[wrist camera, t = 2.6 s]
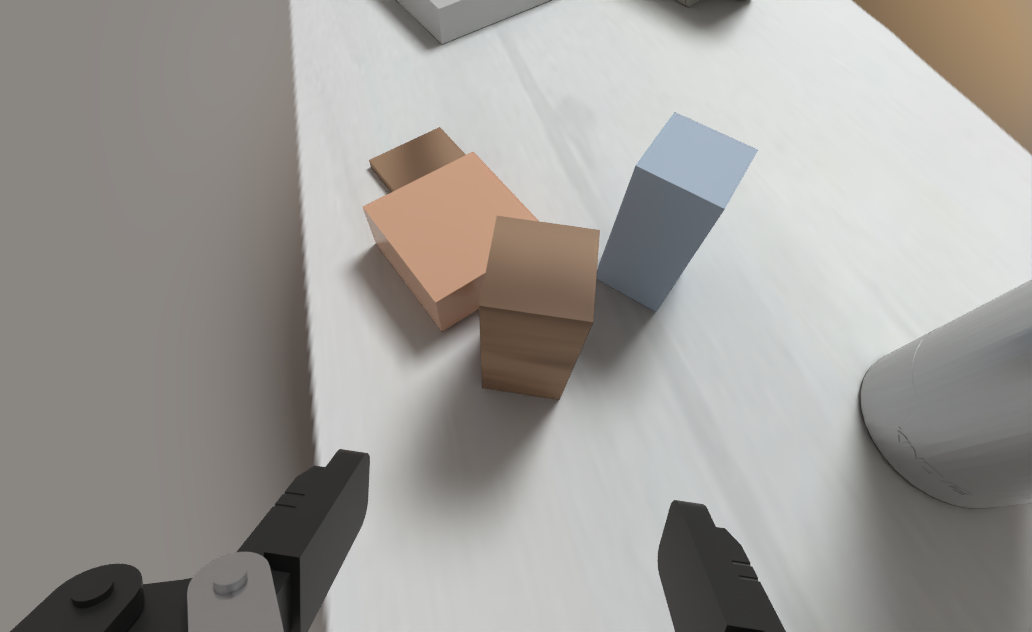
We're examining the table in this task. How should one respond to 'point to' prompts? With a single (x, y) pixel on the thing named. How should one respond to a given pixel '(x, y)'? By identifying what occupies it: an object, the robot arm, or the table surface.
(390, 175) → the walnut swatch
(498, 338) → the walnut pillar
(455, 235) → the terracotta block
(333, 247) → the table surface
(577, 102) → the table surface
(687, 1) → the digital clock
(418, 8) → the grey display tray
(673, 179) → the slate pillar
